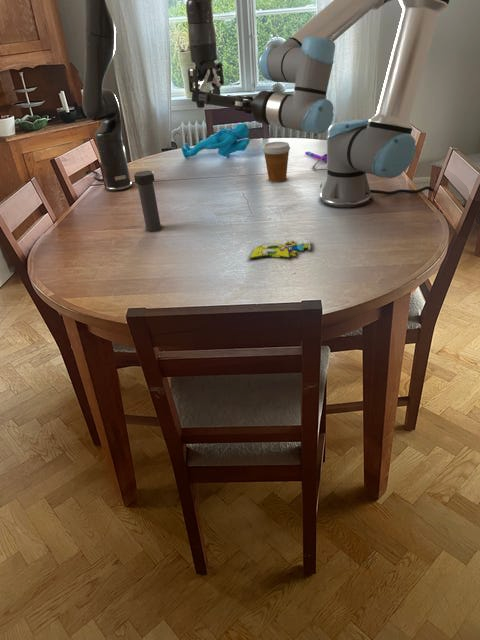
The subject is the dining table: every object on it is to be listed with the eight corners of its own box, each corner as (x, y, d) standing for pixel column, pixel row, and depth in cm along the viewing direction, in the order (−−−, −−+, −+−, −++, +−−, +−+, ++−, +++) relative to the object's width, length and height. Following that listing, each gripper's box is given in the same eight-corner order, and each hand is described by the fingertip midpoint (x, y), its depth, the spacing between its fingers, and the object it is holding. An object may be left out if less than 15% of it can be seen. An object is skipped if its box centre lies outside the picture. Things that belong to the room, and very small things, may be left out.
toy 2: (310, 255, 116) (249, 256, 118) (310, 259, 116) (249, 259, 119) (310, 238, 124) (253, 239, 127) (310, 241, 125) (253, 242, 127)
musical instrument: (342, 175, 173) (362, 153, 185) (341, 169, 172) (361, 148, 184) (283, 174, 186) (305, 153, 198) (282, 169, 184) (305, 148, 196)
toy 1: (187, 137, 214) (250, 117, 204) (195, 160, 219) (257, 142, 209) (175, 147, 200) (242, 126, 190) (184, 171, 205) (250, 153, 195)
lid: (156, 178, 136) (154, 170, 135) (152, 183, 132) (151, 175, 130) (137, 179, 136) (136, 171, 135) (133, 185, 132) (131, 176, 131)
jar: (162, 225, 143) (152, 172, 135) (159, 231, 140) (149, 176, 131) (147, 226, 144) (137, 173, 135) (145, 232, 140) (134, 177, 131)
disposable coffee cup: (260, 182, 170) (258, 147, 164) (269, 174, 177) (267, 141, 171) (286, 183, 167) (285, 148, 160) (294, 175, 174) (293, 141, 168)
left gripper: (206, 40, 140) (212, 100, 149) (176, 45, 130) (184, 109, 139) (227, 39, 137) (232, 100, 146) (198, 44, 127) (205, 109, 136)
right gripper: (238, 122, 110) (175, 109, 122) (298, 127, 129) (238, 115, 140) (243, 86, 107) (178, 77, 119) (303, 96, 125) (242, 87, 137)
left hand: (209, 104), depth 142 cm, fingers open, 8 cm apart
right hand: (210, 98), depth 129 cm, fingers open, 13 cm apart
